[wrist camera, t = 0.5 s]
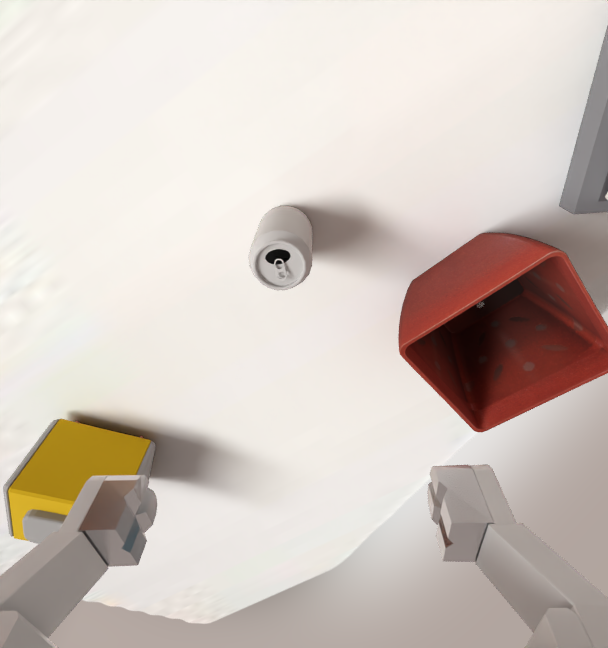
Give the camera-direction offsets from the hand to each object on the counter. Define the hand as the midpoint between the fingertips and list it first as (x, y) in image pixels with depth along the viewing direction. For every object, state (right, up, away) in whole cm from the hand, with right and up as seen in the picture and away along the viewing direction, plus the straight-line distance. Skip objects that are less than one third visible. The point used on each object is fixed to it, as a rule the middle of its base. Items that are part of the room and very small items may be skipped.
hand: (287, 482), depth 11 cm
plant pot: (+25, +10, +48) cm, 55 cm away
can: (-2, +18, +43) cm, 47 cm away
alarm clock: (-40, -21, +70) cm, 83 cm away
